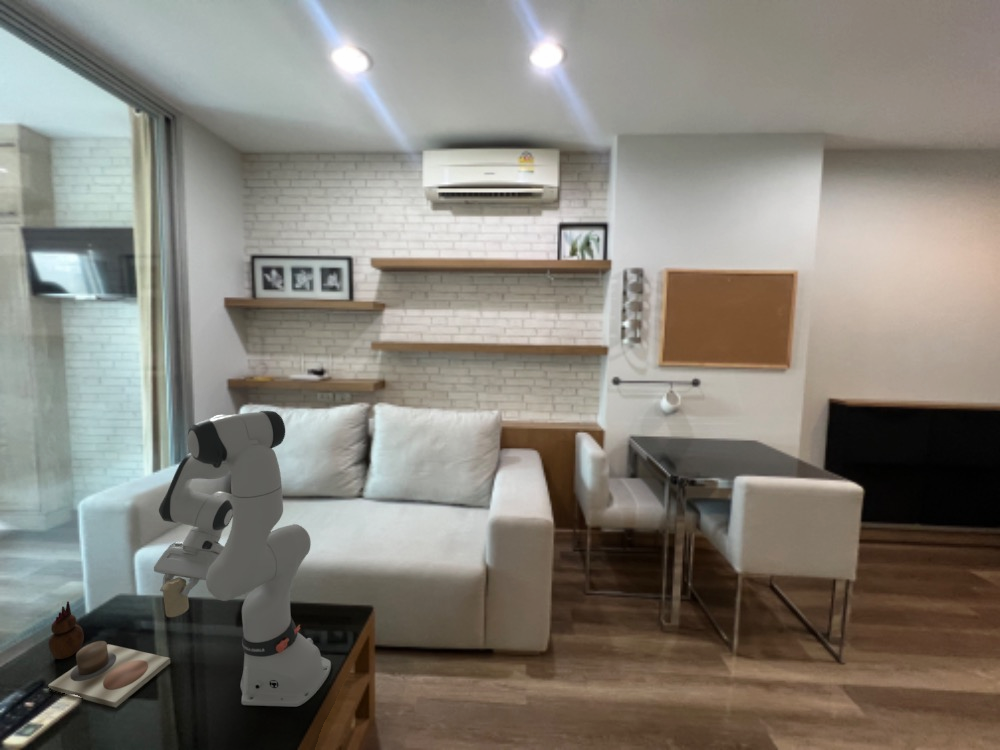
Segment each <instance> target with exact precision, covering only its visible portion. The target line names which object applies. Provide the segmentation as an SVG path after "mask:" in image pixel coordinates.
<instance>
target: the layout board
mask: <svg viewBox="0 0 1000 750" xmlns="http://www.w3.org/2000/svg"><path fill="white" fill-rule="evenodd" d="M75 657H76V658H75V660H76V665H75V666H73V667H72V668H71V669H70V670H68V671H67V672H65V673H63V674H62V675H61V676H59V677H57V678H56V679H54V680H53V681H52V682H50V683H49V684H47V688H48V687H49V688H51V689H53V690H55V691H58V692H61V693H60V694H62V693H65V694H64V695H66V694H75V695H78V696H80V697H82V698H83V699H82V700H86V701H89V702H93V703H96V704H100V705H105V706H108V707H112V708H118V706H120V705H121V704H122V703H123V702H125V701H126V700H128V698H130V697H131V696H132V695H133V694H135V693H136V692H137V691H138V690H139V689H141V688H142V687H143V686H144V685H145V684H147V683H148V682H149V681H150V680H152V679H153V678H154V677H155V676H157V675H158V674H159V673H160V672H161V671H162V670H163V669H165V668H166V667H167V666H168V665H170V664H171V658H170V657H167V656H162V655H157V654H154V653H149V652H144V651H140V650H136V649H132V648H127V647H123V646H118V645H114V644H109V643H108V644H107V642H106V641H105V640H98V641H94V642H91V643H89V644H86V645H85V646H83V647H81V648H80V650H79V651H77V652H76V653H75ZM49 688H48V689H49ZM55 691H54V692H55ZM58 692H57V693H58Z"/></svg>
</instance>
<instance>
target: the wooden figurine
mask: <svg viewBox="0 0 1000 750" xmlns="http://www.w3.org/2000/svg"><path fill="white" fill-rule="evenodd" d="M51 633H52V635H51V636H50V638H49V639H48V648H49V651H50V653H51V655H52V656H53V658H55V659H57V660H64V659H68V658H70V657H72V656H73V655H76V654H77V652H78V651H79V650H80V649H82V645H83V643H84V639H85V637H84V636H85V634H84V630H83V628H82V627H81V626H80V625H79V624H77V617H76V616H75V615H74V614H72V610H71V606H70V601H66V607H65V606H61V611H60V612H59V611H58V616H56V617H55V620H54V621H53V622H52V624H51Z"/></svg>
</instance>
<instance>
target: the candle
mask: <svg viewBox="0 0 1000 750" xmlns="http://www.w3.org/2000/svg"><path fill="white" fill-rule="evenodd" d="M187 585H188V584H187V580H186V579H184V578H183V577H180V576H177V577H175V578H173V579H172V580H169V581H167V583H166V584H165V585H164V586H163V592H162V596H163V603H164V604H163V605H164V611H165V616H166V617H167V618H176V617H178V616H181V615H183V614H185V613H186V612H187V611H188V610H189V608H190V603H189V594H188V595H187V596H185V595H180V594H179V593H180V591H181V589H182V588H185V587H186V586H187Z"/></svg>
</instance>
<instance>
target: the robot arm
mask: <svg viewBox="0 0 1000 750" xmlns="http://www.w3.org/2000/svg"><path fill="white" fill-rule="evenodd" d="M285 437H286V426H285V421H284V420H283V417H282V416H281V415H280V414H278V412H276V411H273V410H260V411H256V412H244V413H233V414H225V413H223V414H216V415H214V416H212V417H210V418H208V419H203V420H202V421H198V422H196V423H194V424H192V425H191V427H190V428H189V429H188V433H187V440H186V442H187V443H186V445H187V449H188V450H189V453H188V454H186V456H184V458H183V459H182V460H181V461H180V463H179V465H178V467H177V469H176V470H175V473H174V475H173V478H172V480H171V482H170V483H169V487H168V490H167V492H166V494H165V496H164V498H163V499H162V501H161V503H160V505H159V507H158V513H159V516H160V517H161V519H162V521H164V522H168V523H169V522H170V523H175V524H176V523H177V524H181V525H186V526H191V527H192V528H191V529H190V530H189V531H188V533H187V535H186V537H185V539H184V540H183V542H181V541H175V542H174V543H171V544H170V545H169V546H168V547H167V548H166V550H164V552H163V553H162V555H160V557H159V558H158V560H157V561H156V563H155V565H154V566H153V572H155V573H158V574H161V575H163V576H162V577H163V579H162V586H161V587H160V590H159V591H160V592H162V593H163V586H164V585H165V584H166V583H167V581H169V580H172V579H174V578H175V577H180V578H187V579H189V580H188V583H187V584H186V585H187V586H186V587H185V588H182V589H181V591H180V593H179V594H180V595H185V596H187V595H188V596H189V593H190V592H191V590H192V589H193V588H194V587H195V586H196V585H197V584H198V583H199V582H200V581H205V582H206V583H205V584H206V588H207V590H208V592H209V593H210V595H212V597H214V598H215V599H216V600H219V601H222V602H227V601H231V600H234V599H235V598H238V597H242V596H244V595H246V594H247V596H246V598H245V599H244V601H243V603H242V607H241V620H242V621H241V622H242V633H241V645H242V646H241V647H242V651H243V653H244V657H243V658H244V659H243V668H242V669H243V671H242V676H241V680H240V682H239V683H240V686H239V687H240V691H241V694H242V695H241V702H240V703H241V705H243V706H259V707H260V706H264V707H265V706H266V707H299V706H302V705H303V704H305V703H306V702H307V701H309V700H310V699H311V698H312V697H313V696H314V695H315V694H316V693H317V691H319V690H320V688H321V687H322V686H323V684H324V683H325V681H326V680H327V678H328V676H329V675H330V672H331V669H332V663H331V660H329V659H328V658H325V657H323V656H321V655H322V654H321V652H320V649H319V648H318V646H316V645H315V644H314V641H313V639H312V638H311V637H307V638H306V637H305V636H303V634H301V633H300V632H299V631H300V629H301V627H300V626H301V624H298V625H296V623H295V622H294V619H293V618H292V616H291V592H292V587H293V584H294V580H295V578H296V576H297V572H298V571H299V568H300V566H301V564H302V563H303V561H304V560H305V558H306V557H307V556H308V554H309V552H310V549H311V545H312V544H311V536H310V535H309V532H308V531H307V530H306V529H305V527H303V526H302V525H299V524H295V523H294V524H290V525H286V526H282V527H278V528H276V529H274V527H275V526H276V525H277V523H279V522H280V519H282V515H283V513H284V502H283V485H282V477H281V470H280V466H279V461H278V458H277V455H276V453H275V452H276V451H274V448H276V447H277V446H280V445H281V444H282V443H283V441H284V439H285ZM228 475H230V487H231V488H230V490H231V491H230V492H231V493H229V492H226V491H221V490H220V491H215V492H214V493H213V494H210V493H206V492H205V493H204V492H201V491H198V490H194V489H192V488H190V487H189V486H190V484H191V482H192V481H193V480H196V479H199V480H216V479H220V478H224V477H226V476H228ZM231 520H232V521H231ZM230 523H231V528H230V532H229V535H228V537H227V540H226V542H225V544H224V545H222V544H221V543H219V542H220V540H221V538H222V533H223V531H224V530H225V529H226V528H227V527H228V526H229V524H230ZM273 529H274V530H273Z"/></svg>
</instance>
